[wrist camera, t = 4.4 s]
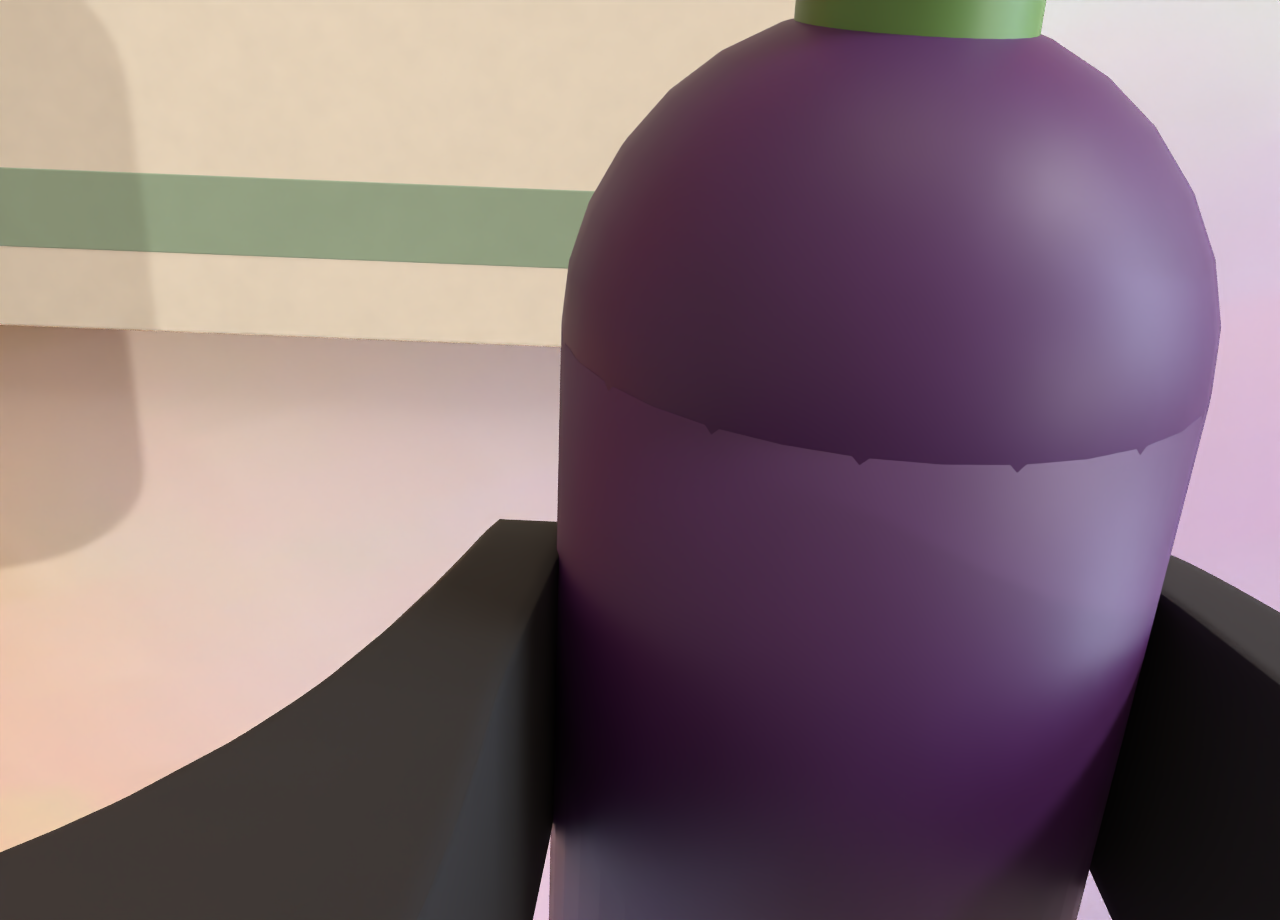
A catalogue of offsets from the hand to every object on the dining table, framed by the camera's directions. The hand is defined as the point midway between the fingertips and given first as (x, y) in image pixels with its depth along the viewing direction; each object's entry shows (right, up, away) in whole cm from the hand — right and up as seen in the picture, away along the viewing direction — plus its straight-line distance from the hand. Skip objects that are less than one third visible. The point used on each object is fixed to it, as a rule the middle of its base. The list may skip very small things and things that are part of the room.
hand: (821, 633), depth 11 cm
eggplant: (0, +1, +1) cm, 2 cm away
